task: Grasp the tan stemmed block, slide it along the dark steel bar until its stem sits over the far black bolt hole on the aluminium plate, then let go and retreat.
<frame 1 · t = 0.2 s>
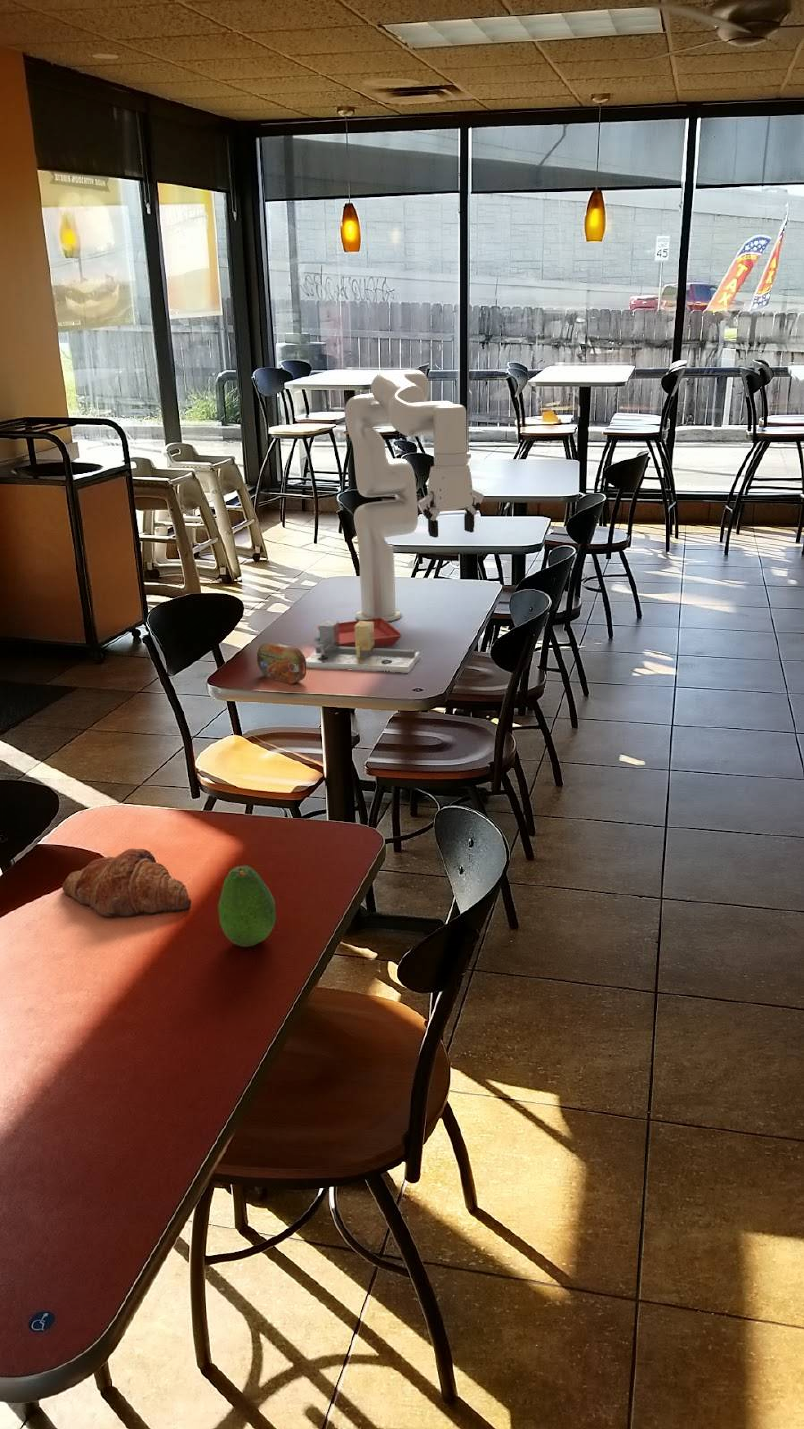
hand: (451, 534, 269), 31 cm above the table, tool pointing down, fingers open, 9 cm apart
tan stemmed block: (362, 640, 278), point 5 cm above the table, slide at 4.0 cm
tin: (283, 680, 269), on the table
hole plate: (362, 662, 279), on the table
avocado: (250, 944, 160), on the table
pastry: (126, 902, 173), on the table
plant saucer: (359, 642, 297), on the table
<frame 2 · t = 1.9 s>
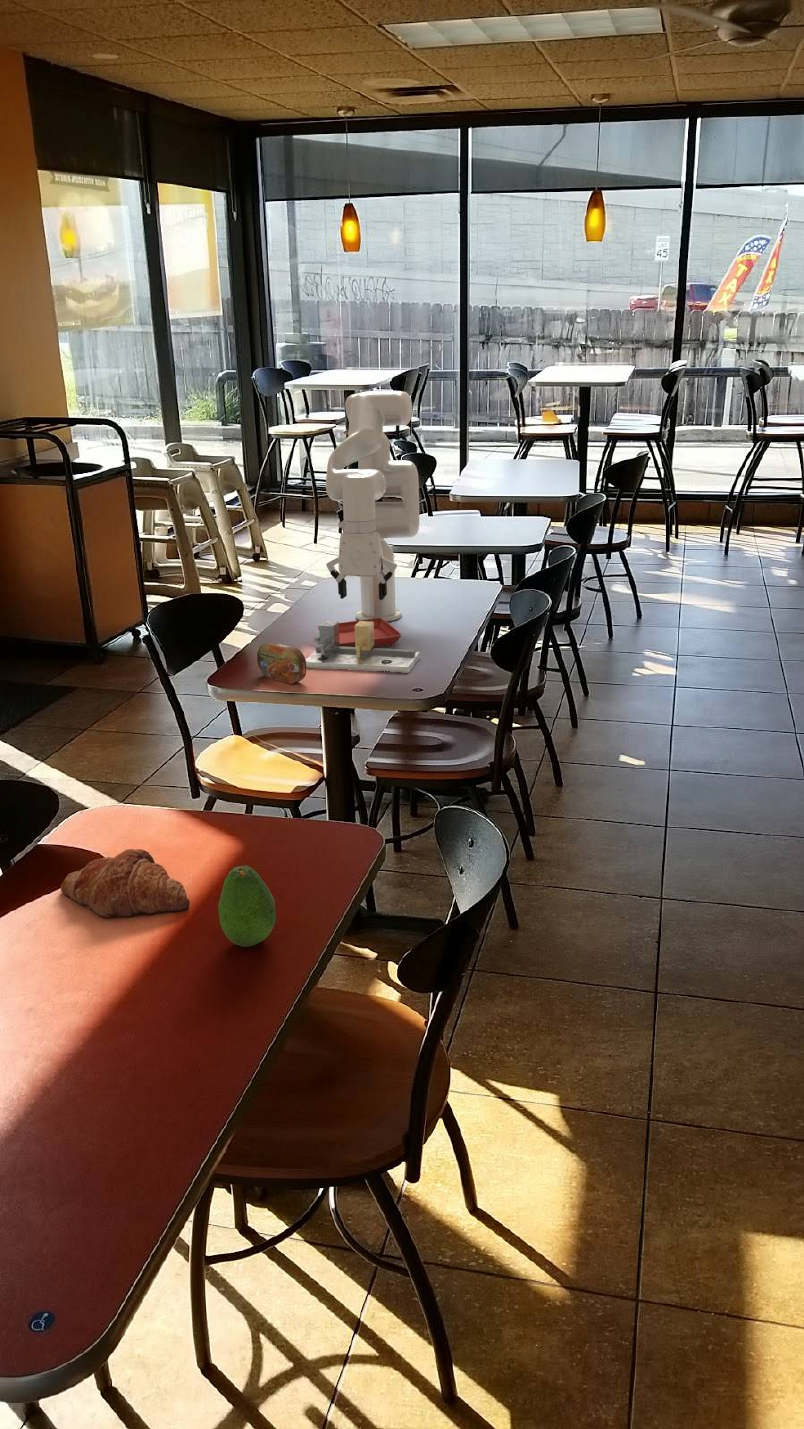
hand: (362, 598, 276), 16 cm above the table, tool pointing down, fingers open, 9 cm apart
nothing on the table moved.
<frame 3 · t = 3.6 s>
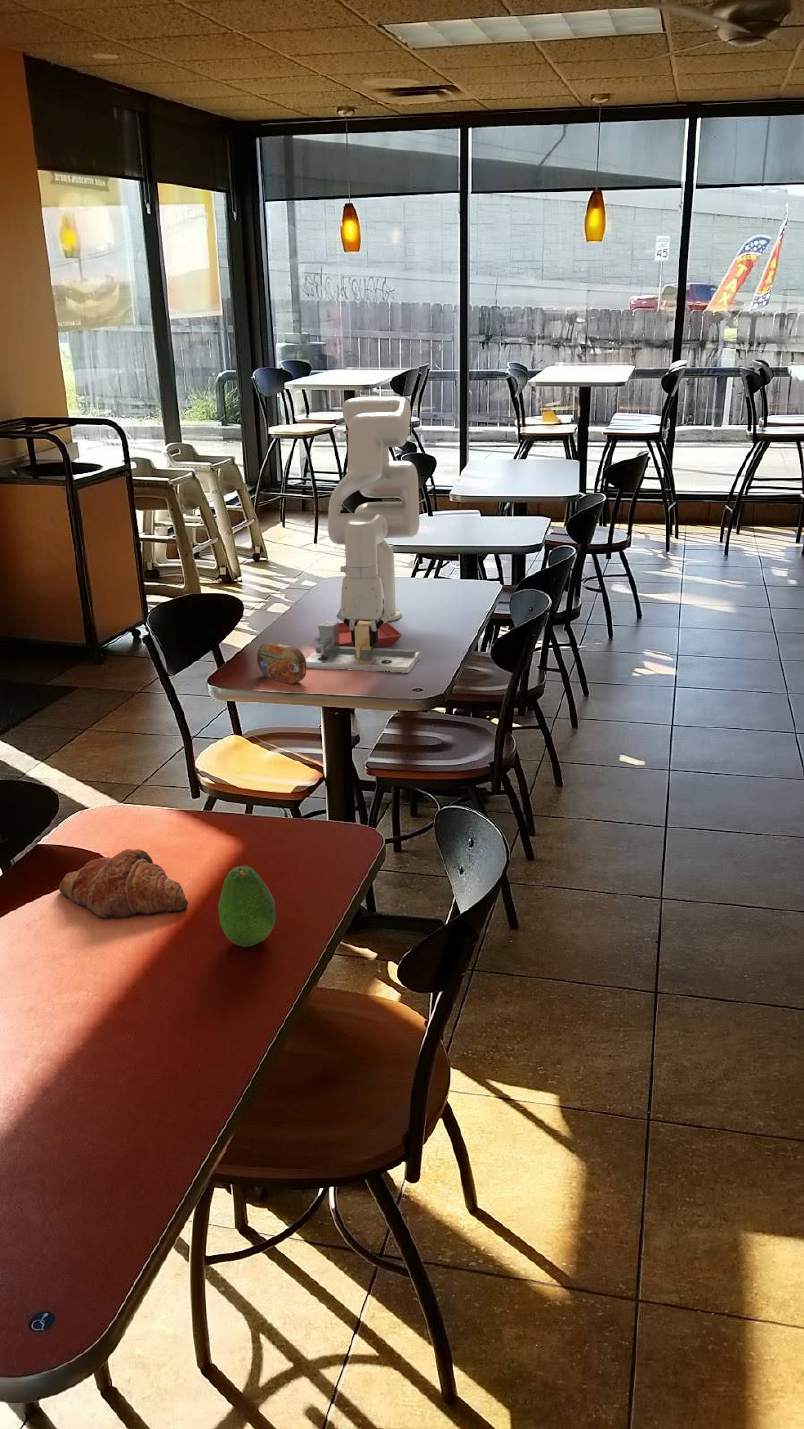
hand: (365, 644, 280), 4 cm above the table, tool pointing down, fingers closed on tan stemmed block, 3 cm apart
tan stemmed block: (362, 640, 278), point 5 cm above the table, slide at 4.0 cm, touching gripper
everything else where it was.
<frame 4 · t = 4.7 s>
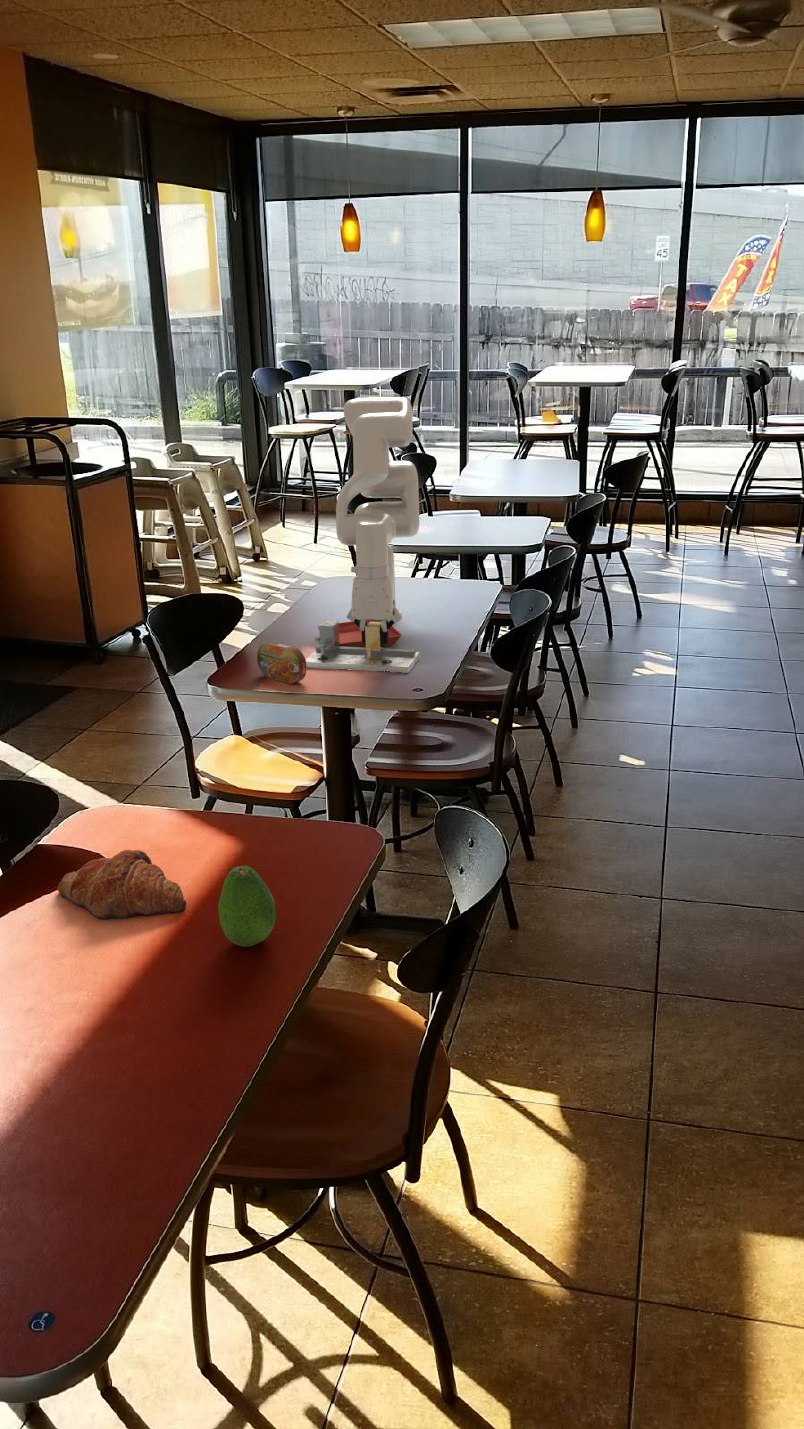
hand: (375, 644, 280), 4 cm above the table, tool pointing down, fingers closed on tan stemmed block, 3 cm apart
tan stemmed block: (372, 640, 277), point 5 cm above the table, slide at 6.7 cm, touching gripper
everything else where it was.
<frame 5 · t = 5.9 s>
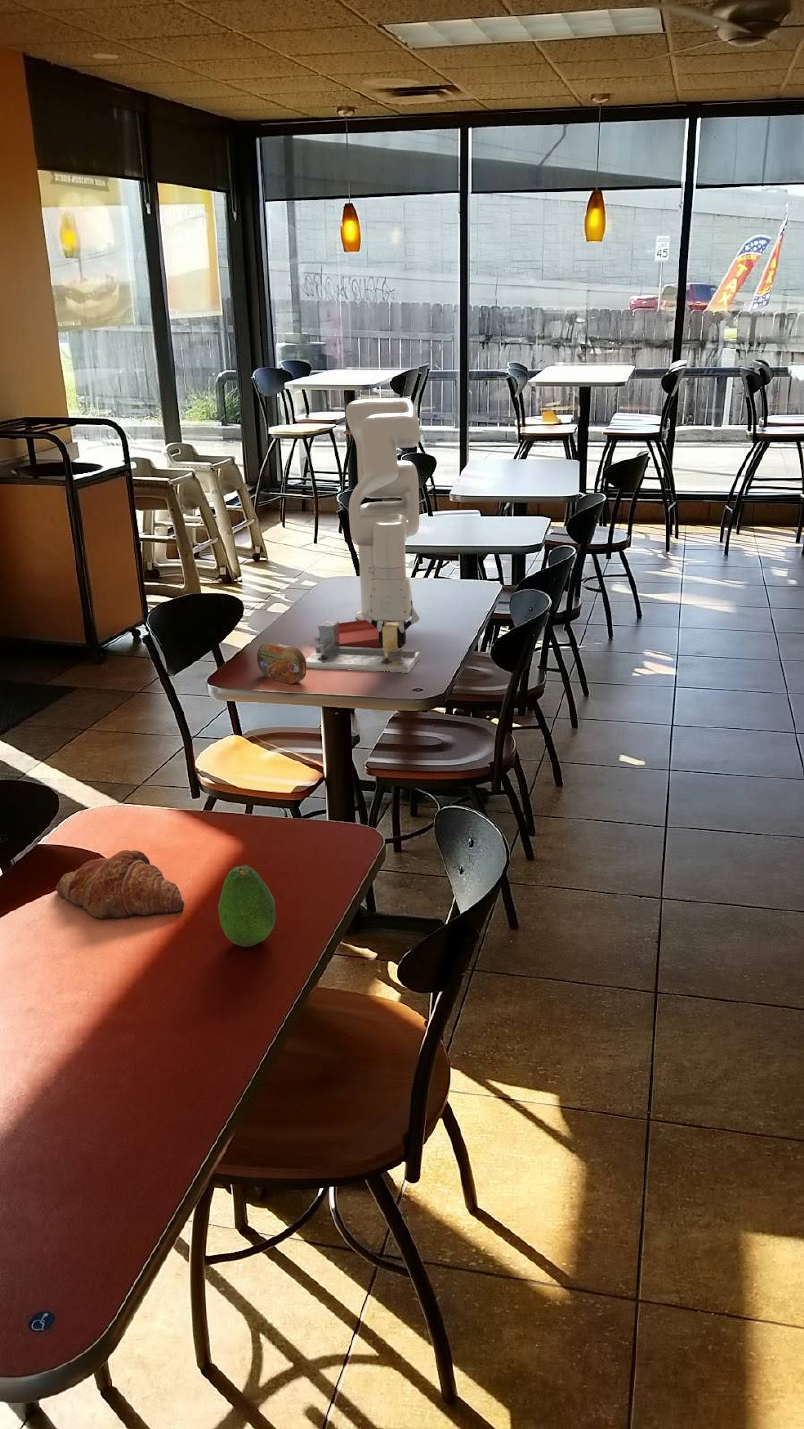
hand: (392, 645, 279), 4 cm above the table, tool pointing down, fingers closed on tan stemmed block, 3 cm apart
tan stemmed block: (390, 641, 276), point 5 cm above the table, slide at 11.0 cm, touching gripper
everything else where it was.
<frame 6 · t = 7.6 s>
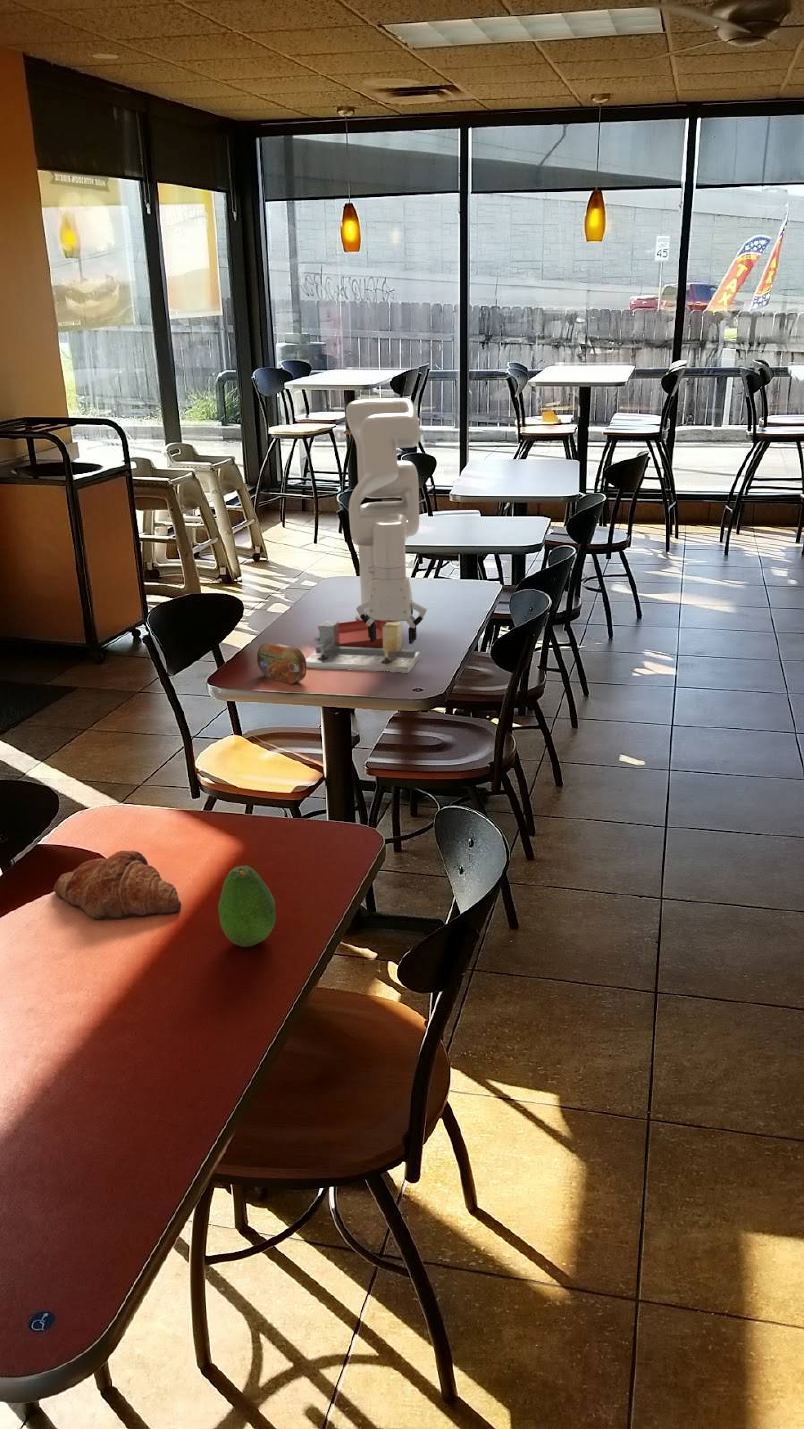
hand: (392, 641, 278), 5 cm above the table, tool pointing down, fingers open, 9 cm apart
tan stemmed block: (390, 641, 276), point 5 cm above the table, slide at 11.0 cm
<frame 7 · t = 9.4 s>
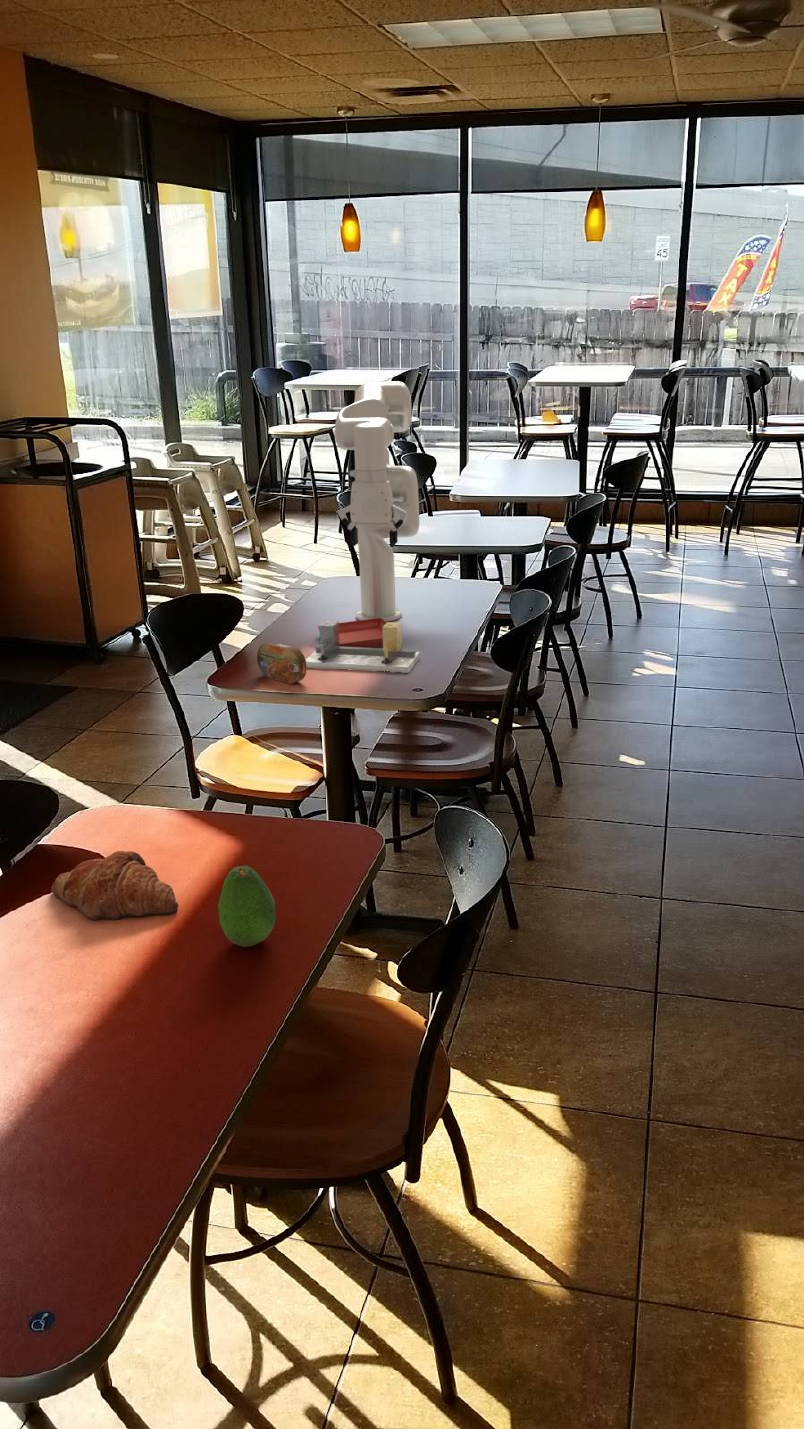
hand: (373, 545, 282), 26 cm above the table, tool pointing down, fingers open, 9 cm apart
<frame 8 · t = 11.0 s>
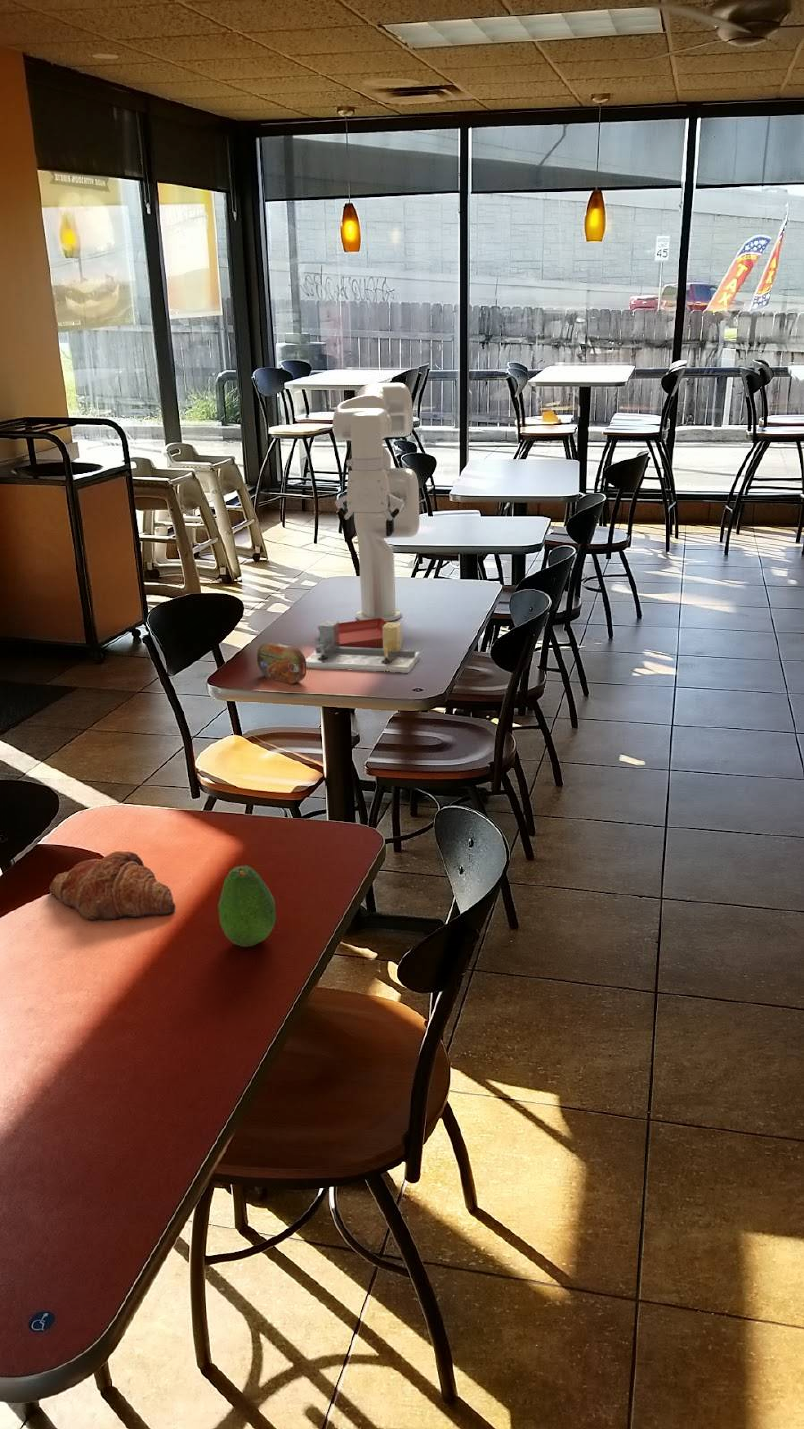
hand: (370, 535, 283), 28 cm above the table, tool pointing down, fingers open, 9 cm apart
at the end: tan stemmed block slide at 11.0 cm; the gripper is holding nothing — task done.
